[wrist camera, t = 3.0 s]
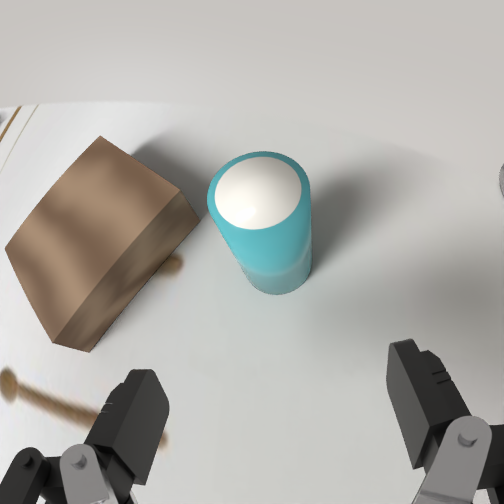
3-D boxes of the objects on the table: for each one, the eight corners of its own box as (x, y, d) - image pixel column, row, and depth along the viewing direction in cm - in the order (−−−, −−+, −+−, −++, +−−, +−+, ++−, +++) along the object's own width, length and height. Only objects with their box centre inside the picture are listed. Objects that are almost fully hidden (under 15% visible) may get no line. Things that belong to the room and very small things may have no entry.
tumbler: (272, 219, 27) (251, 138, 18) (325, 254, 25) (330, 179, 16) (230, 268, 26) (186, 203, 17) (283, 308, 24) (264, 258, 15)
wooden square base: (121, 163, 34) (100, 135, 29) (200, 220, 28) (180, 189, 24) (33, 265, 31) (4, 248, 26) (88, 352, 25) (52, 342, 21)
